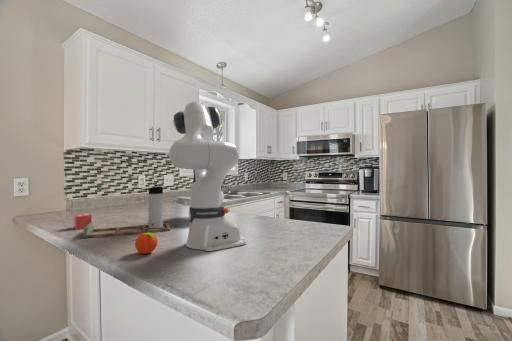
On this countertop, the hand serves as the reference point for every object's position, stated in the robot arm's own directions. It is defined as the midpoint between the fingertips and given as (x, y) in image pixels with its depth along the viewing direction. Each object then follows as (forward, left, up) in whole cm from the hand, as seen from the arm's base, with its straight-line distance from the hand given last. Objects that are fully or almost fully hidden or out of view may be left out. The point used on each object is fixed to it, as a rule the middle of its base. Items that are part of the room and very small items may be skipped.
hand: (177, 202), depth 125 cm
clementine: (+13, +40, -11) cm, 44 cm away
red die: (+42, -10, -11) cm, 45 cm away
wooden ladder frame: (+21, +6, -11) cm, 24 cm away
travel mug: (+10, +6, -11) cm, 16 cm away
